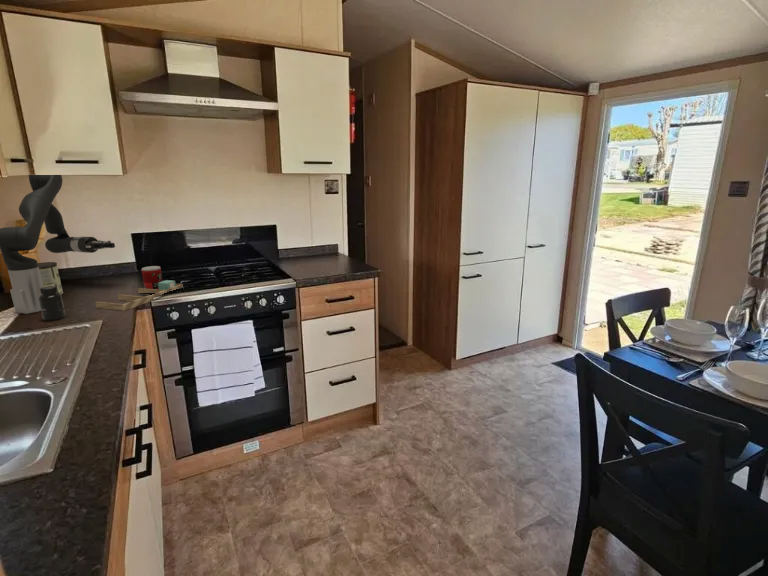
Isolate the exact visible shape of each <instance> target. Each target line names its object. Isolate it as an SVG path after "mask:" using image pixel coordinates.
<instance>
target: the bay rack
mask: <svg viewBox="0 0 768 576" xmlns="http://www.w3.org/2000/svg"><path fill="white" fill-rule="evenodd" d="M183 285H184V284H183V283H176V286H175V287H172V288H169V289H166V290H157V289H145V287H139V288H137V291H138V294H139V293H155V294H152V295H149V294H148V295H146V296H141V295H129V294H120V293H119V294H117V299H118V301H120V300H123V301H122V302H126V303H116V302H115V303H114V302H106V301H104V302H103V301H95V302H94V303H95V304H94V305H95V308H96V309H102V310H103V309H104V310H115V311H123V312H125V310H126V311H129V310H130V309H134V308H136V307H139V306H142V305H144V304H145V305H146V304H147V303H149V302H152V301H154V300H153V298H154V297H156V296H159V295H162V294H164V293H167V292H169V291H173V290H176V289H179V288H181V287H183V288H184V286H183ZM124 300H125V301H124ZM131 301H132V302H131Z"/></svg>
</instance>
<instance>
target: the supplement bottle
mask: <svg viewBox="0 0 768 576" xmlns="http://www.w3.org/2000/svg"><path fill="white" fill-rule="evenodd" d="M40 291H41V294H42V295H41V296H40V297H39V303H40V307H41V311H40V312H41V316H42V320H44V321H46V320H47V322H48V321H49V322H51V321H50V320H53V321H57V319H58V320H61V318H62V319H63V317H64V318H65V317H66V310H65V306H64V305H65V304H64V300H63V296H62V294H59V293H57V288H56V287H55V286H48V287H43V288H41V289H40Z"/></svg>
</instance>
